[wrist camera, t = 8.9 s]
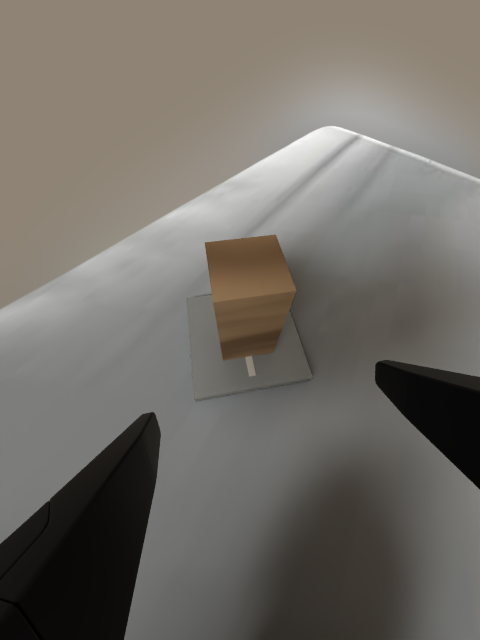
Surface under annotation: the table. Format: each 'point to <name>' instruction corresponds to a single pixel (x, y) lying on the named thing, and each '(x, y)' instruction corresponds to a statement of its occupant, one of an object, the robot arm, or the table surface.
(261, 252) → the walnut block
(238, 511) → the table surface
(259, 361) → the coaster
